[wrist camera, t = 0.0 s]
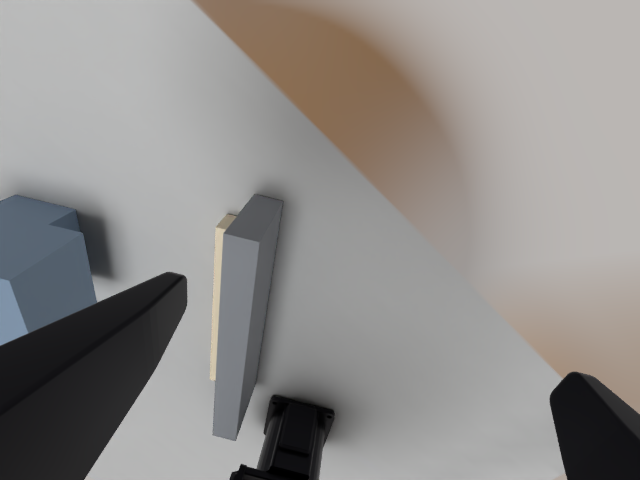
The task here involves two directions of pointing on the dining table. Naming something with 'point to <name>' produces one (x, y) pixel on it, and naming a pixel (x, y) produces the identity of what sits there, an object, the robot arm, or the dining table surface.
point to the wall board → (240, 307)
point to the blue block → (40, 266)
